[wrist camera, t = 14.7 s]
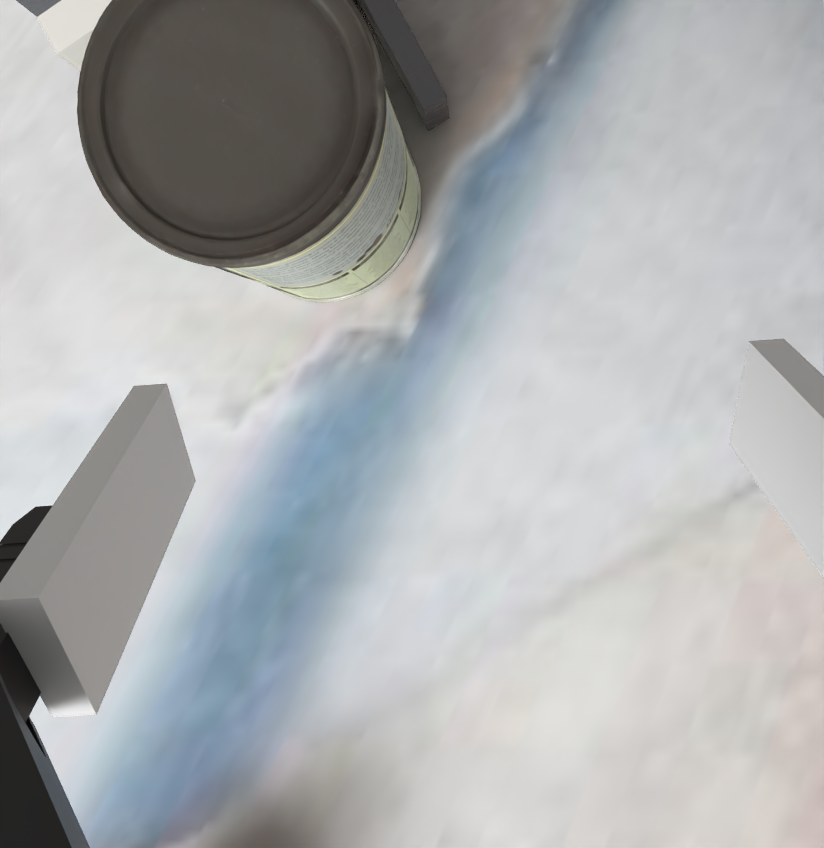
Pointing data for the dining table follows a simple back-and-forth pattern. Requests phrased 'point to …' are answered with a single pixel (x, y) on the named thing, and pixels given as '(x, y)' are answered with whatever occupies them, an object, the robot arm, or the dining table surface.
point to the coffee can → (251, 140)
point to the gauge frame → (396, 45)
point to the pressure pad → (71, 27)
